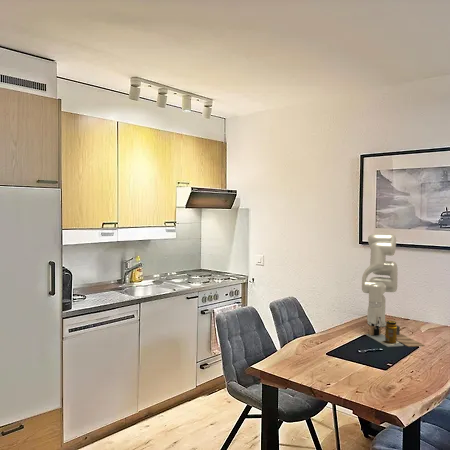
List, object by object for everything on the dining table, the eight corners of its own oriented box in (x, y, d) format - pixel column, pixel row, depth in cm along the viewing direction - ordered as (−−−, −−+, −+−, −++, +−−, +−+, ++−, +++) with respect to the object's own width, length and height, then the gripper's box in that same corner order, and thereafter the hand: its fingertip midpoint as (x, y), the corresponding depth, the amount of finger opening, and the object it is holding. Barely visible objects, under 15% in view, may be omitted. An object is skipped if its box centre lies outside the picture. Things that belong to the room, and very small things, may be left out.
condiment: (399, 342, 253) (399, 321, 253) (392, 345, 247) (393, 324, 247) (387, 339, 258) (387, 319, 258) (380, 342, 252) (380, 321, 252)
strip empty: (384, 334, 270) (385, 325, 270) (399, 334, 272) (399, 325, 271) (408, 347, 246) (408, 337, 246) (424, 345, 248) (424, 336, 248)
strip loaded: (365, 335, 269) (366, 326, 269) (380, 334, 271) (381, 325, 271) (387, 347, 246) (387, 337, 246) (404, 346, 248) (404, 336, 248)
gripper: (362, 301, 275) (362, 331, 276) (376, 307, 259) (376, 338, 260) (373, 301, 277) (373, 330, 278) (388, 307, 261) (387, 337, 262)
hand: (374, 334), depth 269 cm, fingers closed on strip loaded, 3 cm apart
